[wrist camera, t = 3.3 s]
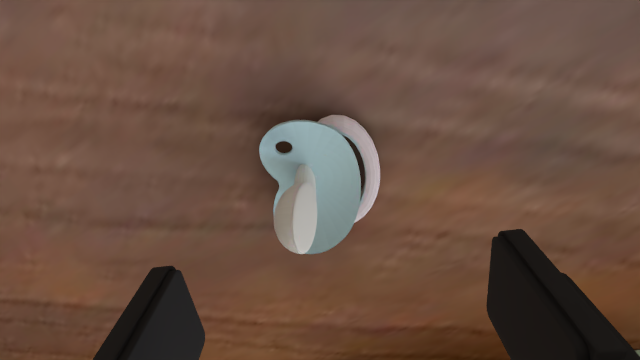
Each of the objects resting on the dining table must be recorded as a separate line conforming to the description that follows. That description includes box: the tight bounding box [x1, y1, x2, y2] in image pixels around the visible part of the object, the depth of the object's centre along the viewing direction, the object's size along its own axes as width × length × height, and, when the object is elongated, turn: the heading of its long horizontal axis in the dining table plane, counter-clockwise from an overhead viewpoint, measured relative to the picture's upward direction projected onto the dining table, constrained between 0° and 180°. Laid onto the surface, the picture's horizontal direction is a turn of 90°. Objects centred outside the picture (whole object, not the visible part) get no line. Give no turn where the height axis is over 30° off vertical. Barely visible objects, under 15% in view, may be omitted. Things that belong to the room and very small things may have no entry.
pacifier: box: [259, 115, 380, 254], centre depth 17 cm, size 7×6×6 cm
